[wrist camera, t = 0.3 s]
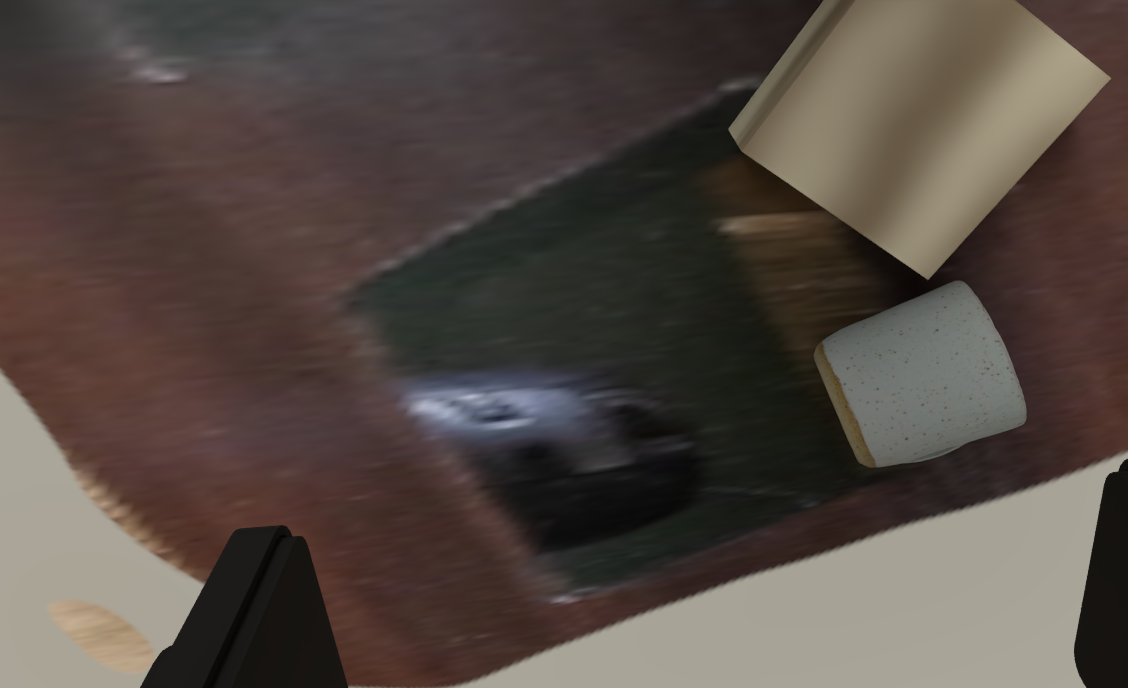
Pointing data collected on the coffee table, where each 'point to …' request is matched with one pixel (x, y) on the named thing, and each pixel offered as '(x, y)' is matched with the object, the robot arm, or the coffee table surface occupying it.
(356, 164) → the coffee table surface
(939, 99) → the birch block
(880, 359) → the ceramic mug
